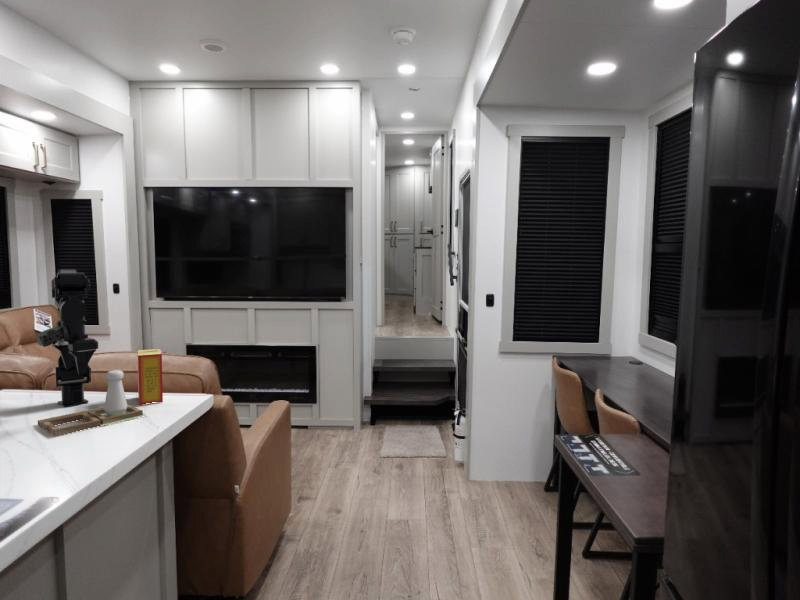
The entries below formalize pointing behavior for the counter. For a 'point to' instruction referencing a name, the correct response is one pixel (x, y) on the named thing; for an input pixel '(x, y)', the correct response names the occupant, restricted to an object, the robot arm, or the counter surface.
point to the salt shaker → (115, 394)
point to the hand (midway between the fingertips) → (74, 371)
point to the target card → (120, 420)
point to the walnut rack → (91, 416)
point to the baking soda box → (150, 376)
